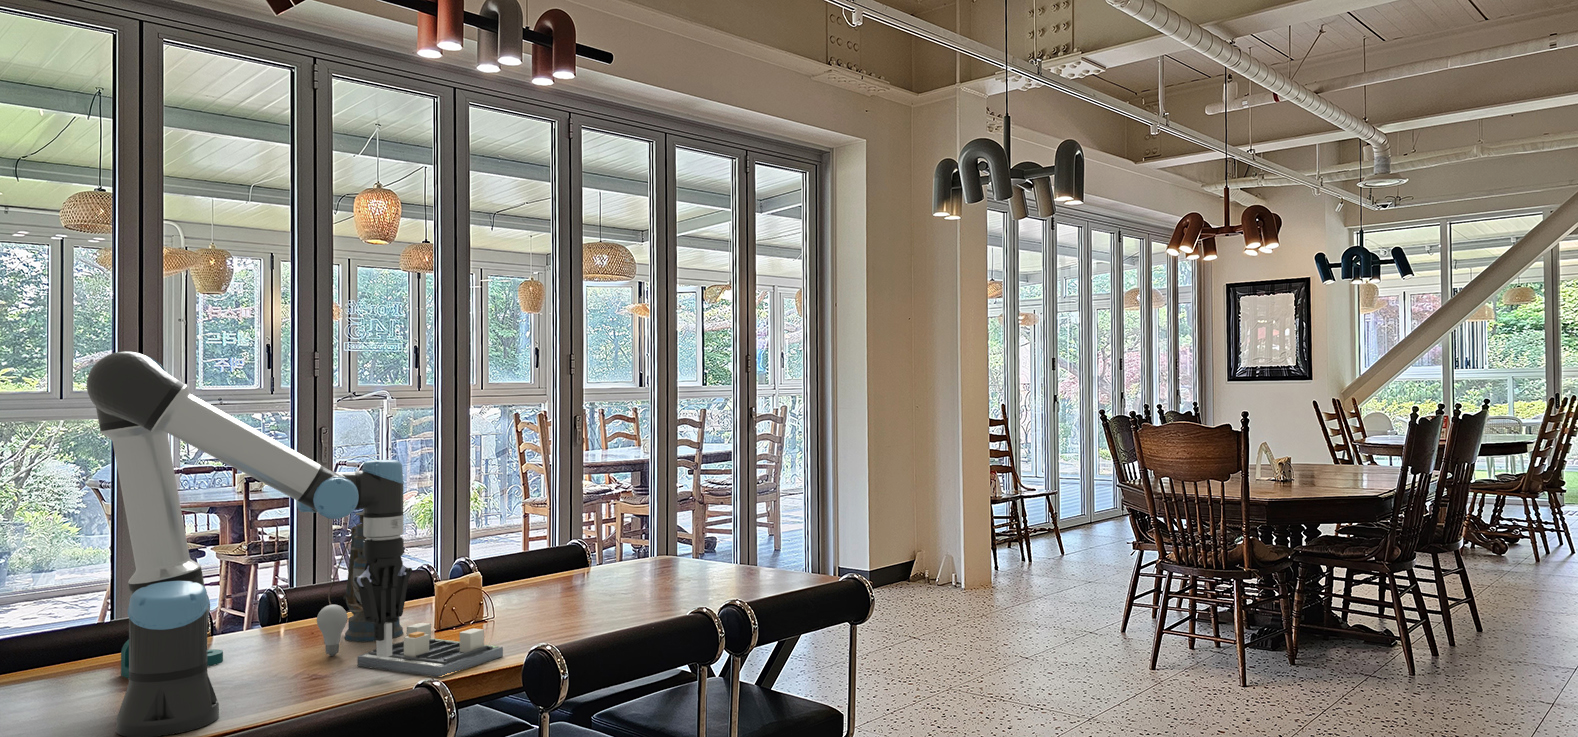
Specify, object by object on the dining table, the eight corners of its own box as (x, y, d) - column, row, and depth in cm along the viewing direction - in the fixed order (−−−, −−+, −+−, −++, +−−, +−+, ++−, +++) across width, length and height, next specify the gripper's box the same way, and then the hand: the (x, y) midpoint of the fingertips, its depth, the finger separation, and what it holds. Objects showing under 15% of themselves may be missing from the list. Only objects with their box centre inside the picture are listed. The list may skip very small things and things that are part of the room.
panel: (440, 677, 206) (440, 663, 206) (357, 665, 216) (357, 652, 216) (502, 656, 222) (502, 643, 222) (422, 646, 232) (422, 633, 232)
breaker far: (417, 646, 224) (416, 627, 224) (406, 645, 225) (406, 626, 225) (430, 642, 227) (430, 623, 227) (420, 640, 228) (420, 622, 229)
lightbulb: (336, 660, 221) (335, 608, 221) (310, 659, 222) (310, 607, 223) (353, 653, 227) (353, 602, 227) (328, 651, 228) (328, 601, 229)
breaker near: (470, 652, 217) (470, 633, 217) (459, 651, 218) (459, 632, 218) (484, 648, 221) (483, 629, 221) (473, 647, 222) (473, 628, 222)
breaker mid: (414, 658, 213) (414, 635, 213) (403, 657, 214) (403, 634, 214) (429, 653, 217) (429, 631, 217) (418, 652, 218) (418, 630, 218)
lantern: (424, 634, 244) (423, 506, 245) (372, 647, 232) (372, 512, 233) (370, 626, 254) (369, 503, 255) (317, 638, 242) (317, 509, 243)
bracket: (133, 681, 207) (133, 642, 207) (121, 676, 211) (121, 637, 211) (228, 663, 221) (228, 625, 221) (215, 658, 225) (215, 621, 225)
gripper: (371, 542, 201) (372, 665, 200) (422, 533, 213) (422, 649, 212) (343, 540, 204) (344, 661, 204) (395, 532, 216) (395, 646, 215)
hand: (384, 655), depth 208 cm, fingers closed
